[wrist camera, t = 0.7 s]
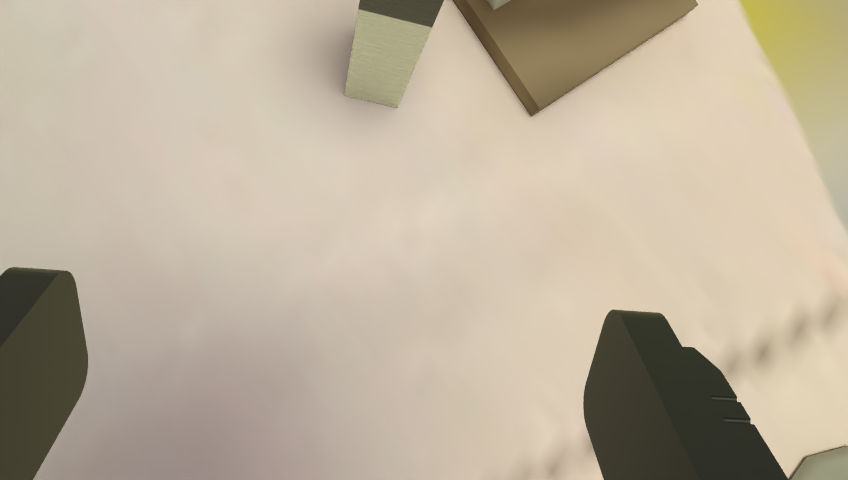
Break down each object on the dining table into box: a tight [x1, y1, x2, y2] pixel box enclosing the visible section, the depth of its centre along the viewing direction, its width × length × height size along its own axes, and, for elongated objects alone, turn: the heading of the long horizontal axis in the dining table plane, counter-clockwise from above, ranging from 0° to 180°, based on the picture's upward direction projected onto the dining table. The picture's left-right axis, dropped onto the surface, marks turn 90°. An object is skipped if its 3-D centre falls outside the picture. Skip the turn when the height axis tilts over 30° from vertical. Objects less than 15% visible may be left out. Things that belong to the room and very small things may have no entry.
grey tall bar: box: [344, 0, 444, 108], centre depth 32 cm, size 3×4×14 cm
